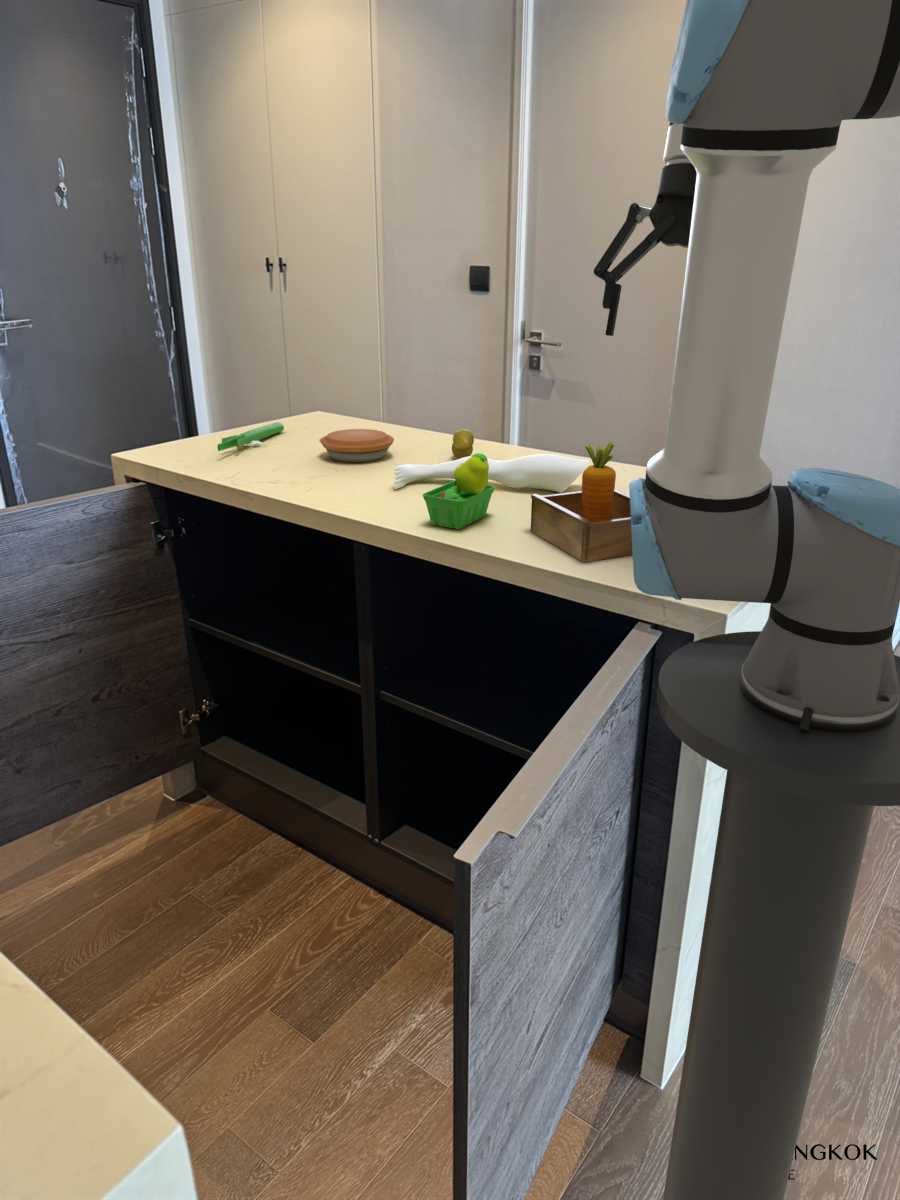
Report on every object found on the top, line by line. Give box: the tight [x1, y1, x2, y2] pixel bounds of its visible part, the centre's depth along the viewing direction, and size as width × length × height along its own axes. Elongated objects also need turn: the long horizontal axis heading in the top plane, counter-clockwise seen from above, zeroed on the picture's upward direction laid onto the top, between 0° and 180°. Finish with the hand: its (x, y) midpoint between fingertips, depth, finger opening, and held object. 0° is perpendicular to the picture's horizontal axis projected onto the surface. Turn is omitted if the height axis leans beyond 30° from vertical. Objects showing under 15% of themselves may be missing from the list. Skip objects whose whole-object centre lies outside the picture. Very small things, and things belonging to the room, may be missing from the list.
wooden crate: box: [530, 488, 633, 563], centre depth 129 cm, size 16×14×6 cm
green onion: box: [217, 422, 285, 452], centre depth 190 cm, size 5×3×30 cm
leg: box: [393, 453, 590, 494], centre depth 157 cm, size 7×35×10 cm
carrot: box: [581, 441, 617, 522], centre depth 128 cm, size 5×5×15 cm
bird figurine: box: [451, 428, 475, 460], centre depth 178 cm, size 4×15×6 cm, turn 6°
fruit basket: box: [422, 452, 496, 530], centre depth 137 cm, size 11×9×11 cm
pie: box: [318, 428, 395, 463], centre depth 180 cm, size 15×16×5 cm
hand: (659, 341), depth 115 cm, fingers open, 13 cm apart
